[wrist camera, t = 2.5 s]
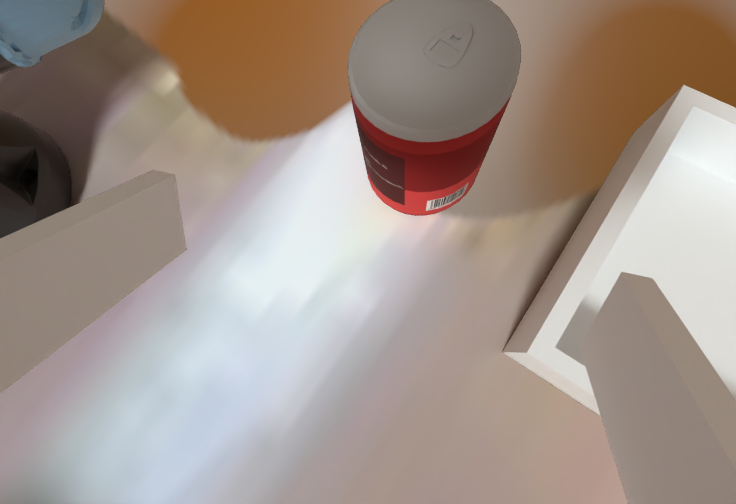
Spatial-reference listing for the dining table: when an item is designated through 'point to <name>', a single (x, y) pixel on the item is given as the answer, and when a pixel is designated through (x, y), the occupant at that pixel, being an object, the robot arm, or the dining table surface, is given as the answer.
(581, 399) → the tray
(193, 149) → the dining table surface
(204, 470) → the dining table surface
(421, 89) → the canned food
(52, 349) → the robot arm
